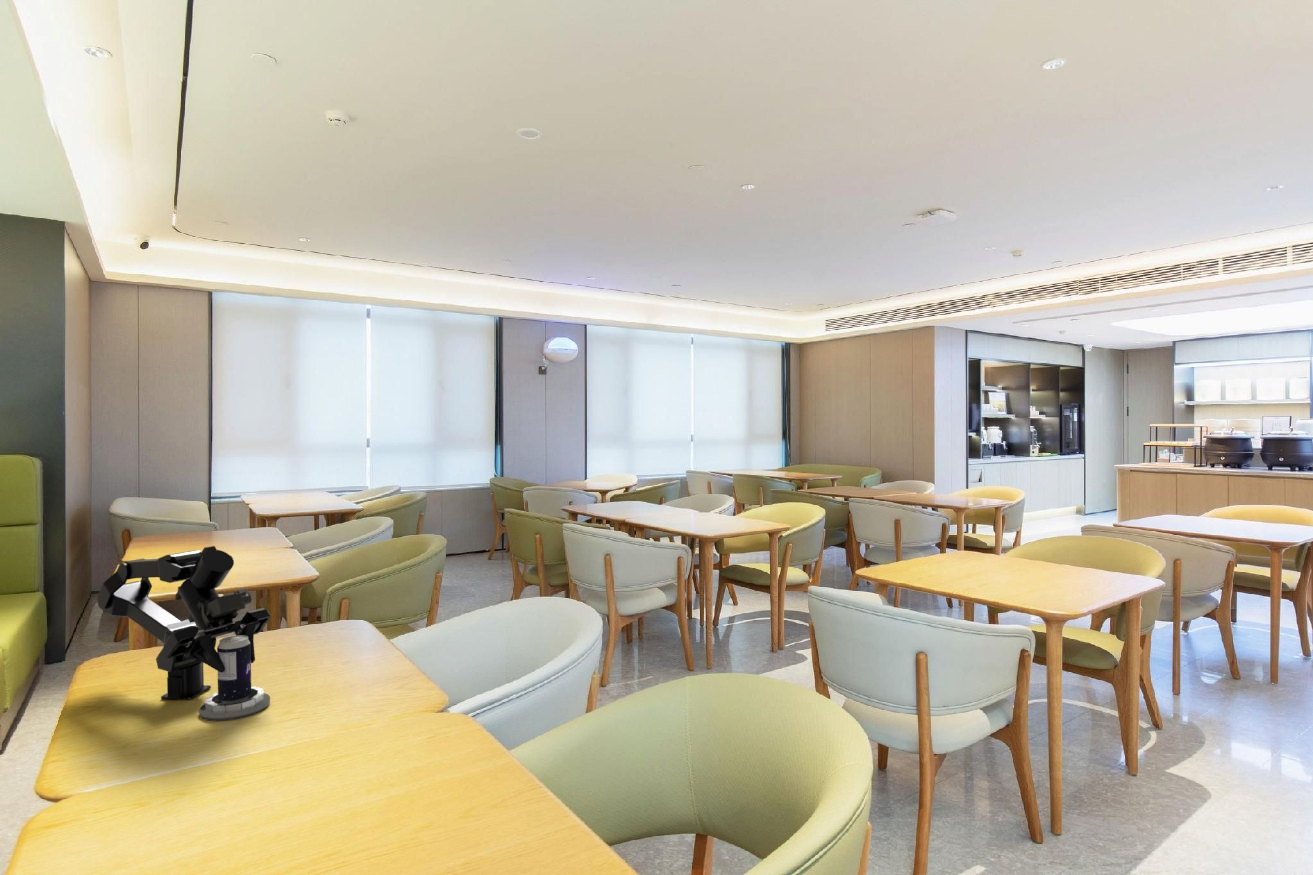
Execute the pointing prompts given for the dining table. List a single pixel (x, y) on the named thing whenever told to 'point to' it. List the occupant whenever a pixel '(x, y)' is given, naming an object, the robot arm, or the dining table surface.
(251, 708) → the collar base
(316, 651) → the dining table surface
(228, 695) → the beverage can
